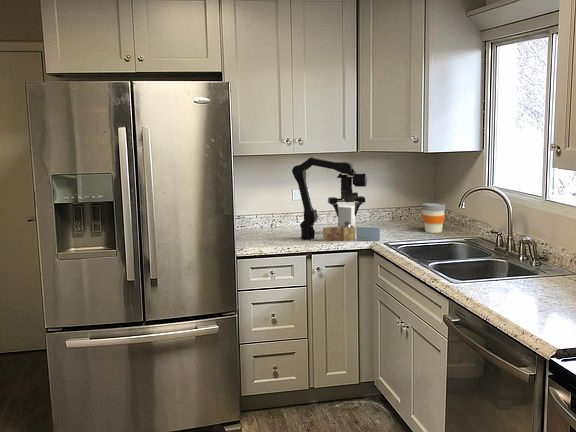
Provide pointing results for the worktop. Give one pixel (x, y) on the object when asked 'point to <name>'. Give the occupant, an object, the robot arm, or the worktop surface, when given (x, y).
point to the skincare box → (346, 215)
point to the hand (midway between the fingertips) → (346, 216)
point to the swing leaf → (368, 233)
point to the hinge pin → (347, 223)
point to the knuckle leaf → (339, 233)
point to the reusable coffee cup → (433, 216)
